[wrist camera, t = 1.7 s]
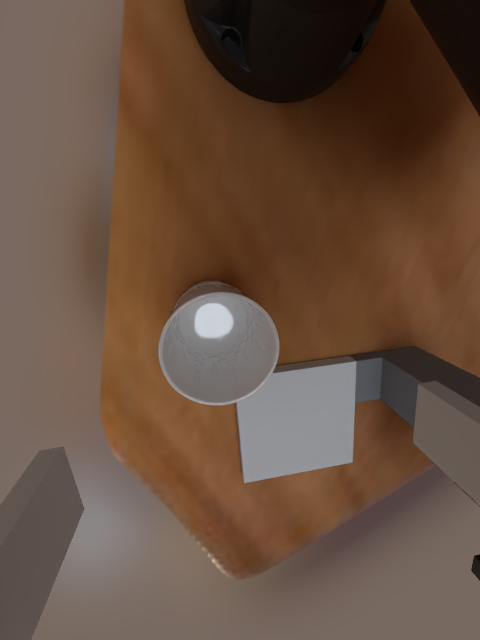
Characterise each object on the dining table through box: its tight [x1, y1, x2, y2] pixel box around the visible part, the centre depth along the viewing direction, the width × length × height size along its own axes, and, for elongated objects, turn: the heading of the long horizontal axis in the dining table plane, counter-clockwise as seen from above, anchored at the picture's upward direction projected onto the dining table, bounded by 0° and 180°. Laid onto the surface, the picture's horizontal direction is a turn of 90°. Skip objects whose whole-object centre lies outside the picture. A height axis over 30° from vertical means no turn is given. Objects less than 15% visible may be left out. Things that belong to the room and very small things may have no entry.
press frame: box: [235, 347, 480, 483], centre depth 26 cm, size 13×21×16 cm, turn 94°
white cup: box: [158, 280, 279, 405], centre depth 24 cm, size 8×8×10 cm
